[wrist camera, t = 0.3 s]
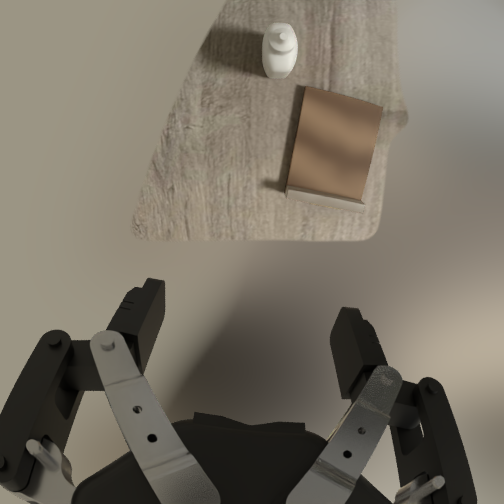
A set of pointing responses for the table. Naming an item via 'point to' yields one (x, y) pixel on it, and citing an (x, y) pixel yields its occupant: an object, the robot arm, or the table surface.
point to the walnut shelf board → (332, 150)
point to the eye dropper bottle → (279, 50)
